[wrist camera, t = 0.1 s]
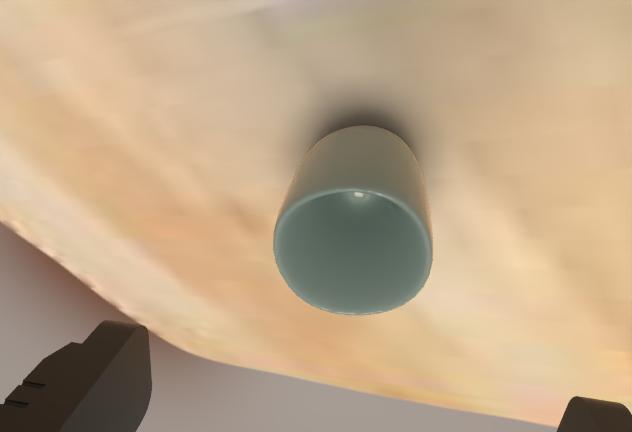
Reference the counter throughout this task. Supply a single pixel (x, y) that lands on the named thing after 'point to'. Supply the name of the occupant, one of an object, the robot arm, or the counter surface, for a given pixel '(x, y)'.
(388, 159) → the cup
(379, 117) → the counter surface
